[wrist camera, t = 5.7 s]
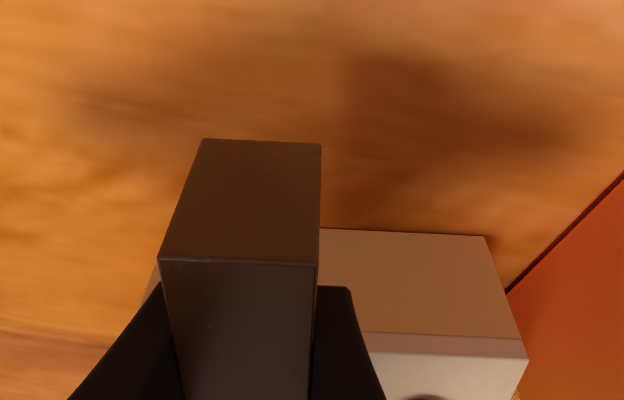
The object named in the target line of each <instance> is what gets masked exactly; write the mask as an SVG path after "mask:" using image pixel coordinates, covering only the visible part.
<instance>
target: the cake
mask: <svg viewBox="0 0 624 400" xmlns="http://www.w3.org/2000/svg"><path fill="white" fill-rule="evenodd" d="M318 285H326V286H346V287H347V288H348V289H349V290H350V291H351V296H352V301H353V305H354V309H355V313H356V317H357V320H358V324H359V327H360V330H361V333H362V336H363V339H364V342H365V345H366V348H367V351H368V354H369V356H370V359H371V362H372V364H373V367H374V369H375V372H376V374H377V377H378V379H379V382H380V384H381V386H382V389H383V391H384V394H385V396H386V399H387V400H511V398H512V396H513V394H514V392H515V390H516V388H517V386H518V384H519V381H520V379H521V377H522V375H523V373H524V371H525V369H526V367H527V365H528V363H529V358H528V355H527V353H526V350H525V347H524V344H523V342H522V338H521V336H520V333H519V330H518V328H517V325H516V322H515V319H514V317H513V314H512V311H511V308H510V306H509V303H508V300H507V298H506V295H505V292H504V289H503V287H502V284H501V281H500V278H499V276H498V273H497V270H496V268H495V265H494V262H493V259H492V257H491V254H490V251H489V249H488V246H487V243H486V240H485V238H484V237H483V236H467V235H446V234H426V233H405V232H385V231H364V230H343V229H323V228H320V235H319V270H318Z"/></svg>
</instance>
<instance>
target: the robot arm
mask: <svg viewBox="0 0 624 400" xmlns="http://www.w3.org/2000/svg"><path fill="white" fill-rule="evenodd" d="M67 400H184V396H183V391H182V386H181V381H180V376H179V371H178V365H177V360H176V355H175V350H174V345H173V339H172V334H171V329H170V324H169V319H168V314H167V308H166V303H165V298H164V293H163V288H162V283H161V281H159V282H158V284H157V285H156V287H155V288H154V290H153V291H152V292H151V294H150V295H149V297H148V298H147V300H146V301H145V302H144V304H143V305H142V307H141V308H140V309H139V311H138V312H137V313H136V315H135V316H134V317H133V319H132V320H131V322H130V323H129V324H128V325H127V327H126V328H125V329H124V331H123V332H122V333H121V335H120V336H119V337H118V339H117V340H116V341H115V342H114V344H113V345H112V346H111V347H110V349H109V350H108V351H107V352H106V354H105V355H104V356H103V357H102V359H101V360H100V361H99V362H98V364H97V365H96V366H95V367H94V369H93V370H92V371H91V372H90V373H89V375H88V376H87V377H86V378H85V379H84V381H83V382H82V383H81V384H80V385H79V387H78V388H77V389H76V390H75V391H74V392H73V393H72V394H71V396H70V397H69V398H68V399H67ZM310 400H387V399H386V396H385V394H384V391H383V389H382V386H381V384H380V382H379V379H378V377H377V374H376V372H375V369H374V367H373V364H372V362H371V359H370V356H369V354H368V351H367V348H366V345H365V342H364V339H363V336H362V333H361V330H360V327H359V324H358V320H357V317H356V313H355V309H354V305H353V301H352V296H351V291H350V290H349V289H348V288H347V287H346V286H326V285H317V300H316V315H315V330H314V345H313V360H312V375H311V390H310Z"/></svg>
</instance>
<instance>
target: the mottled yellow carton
mask: <svg viewBox="0 0 624 400" xmlns="http://www.w3.org/2000/svg"><path fill="white" fill-rule="evenodd" d="M506 298H507V300H508V303H509V306H510V308H511V311H512V314H513V317H514V319H515V322H516V325H517V328H518V330H519V333H520V336H521V338H522V342H523V344H524V347H525V350H526V353H527V355H528V358H529V363H528V365H527V367H526V369H525V371H524V373H523V375H522V377H521V379H520V381H519V384H518V386H517V389H518V392H519V396H520V399H521V400H624V179H623V180H622V181H621V182H620V183H619V184H618V185H617V186H616V187H615V188H614V189H613V190H612V191H611V192H610V193H609V194H608V195H607V196H606V197H605V198H604V199H603V200H602V201H601V202H600V203H599V204H598V205H597V206H596V207H595V208H594V209H593V210H592V211H591V212H590V213H589V214H588V215H587V216H586V217H585V218H584V219H583V220H582V221H581V222H580V223H579V224H578V225H577V226H576V227H575V228H574V229H572V230H571V231H570V232H569V233H568V234H567V235H566V236H565V237H564V238H563V239H562V240H561V241H560V242H559V243H558V244H557V245H556V246H555V247H554V248H553V249H552V250H551V251H550V252H549V253H548V254H547V255H546V256H545V257H544V258H543V259H542V260H541V261H540V262H539V263H538V264H537V265H536V266H535V267H534V268H533V269H532V270H531V271H530V272H529V273H528V274H527V275H526V276H525V277H524V278H523V279H522V280H521V281H520V282H519V283H518V284H517V285H516V286H515V287H514V288H513V289H512V290H511V291H510V292H509V293H508V294H506Z"/></svg>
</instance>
